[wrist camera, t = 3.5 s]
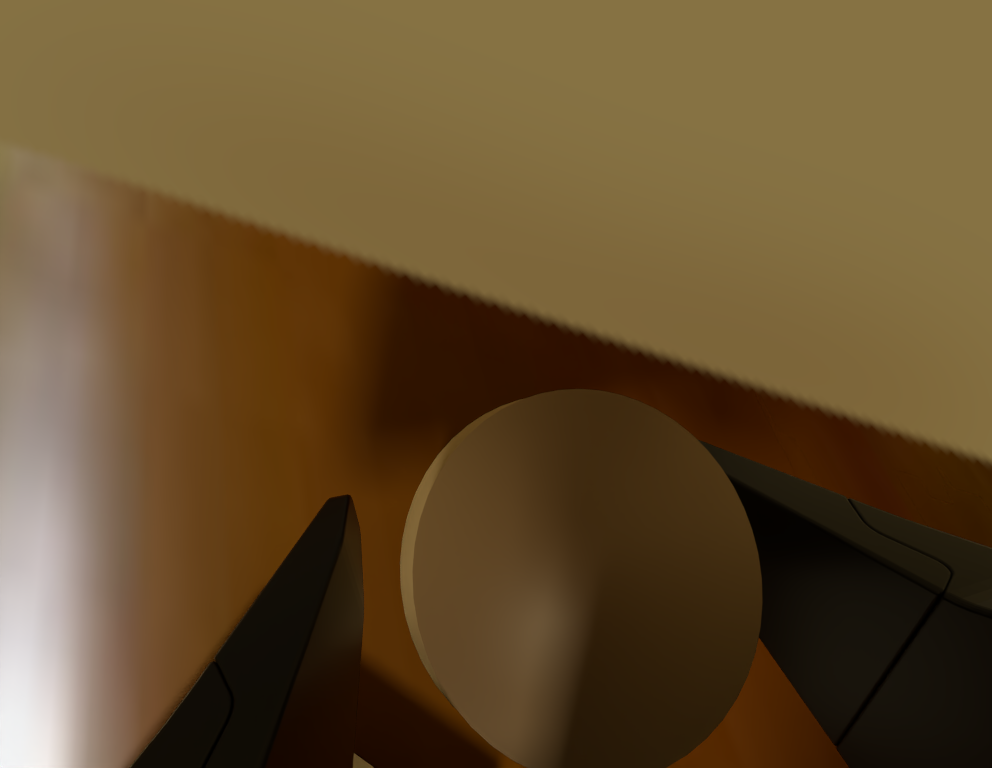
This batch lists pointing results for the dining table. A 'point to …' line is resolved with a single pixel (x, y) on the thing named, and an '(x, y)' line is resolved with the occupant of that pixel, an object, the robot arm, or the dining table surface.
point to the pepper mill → (582, 582)
